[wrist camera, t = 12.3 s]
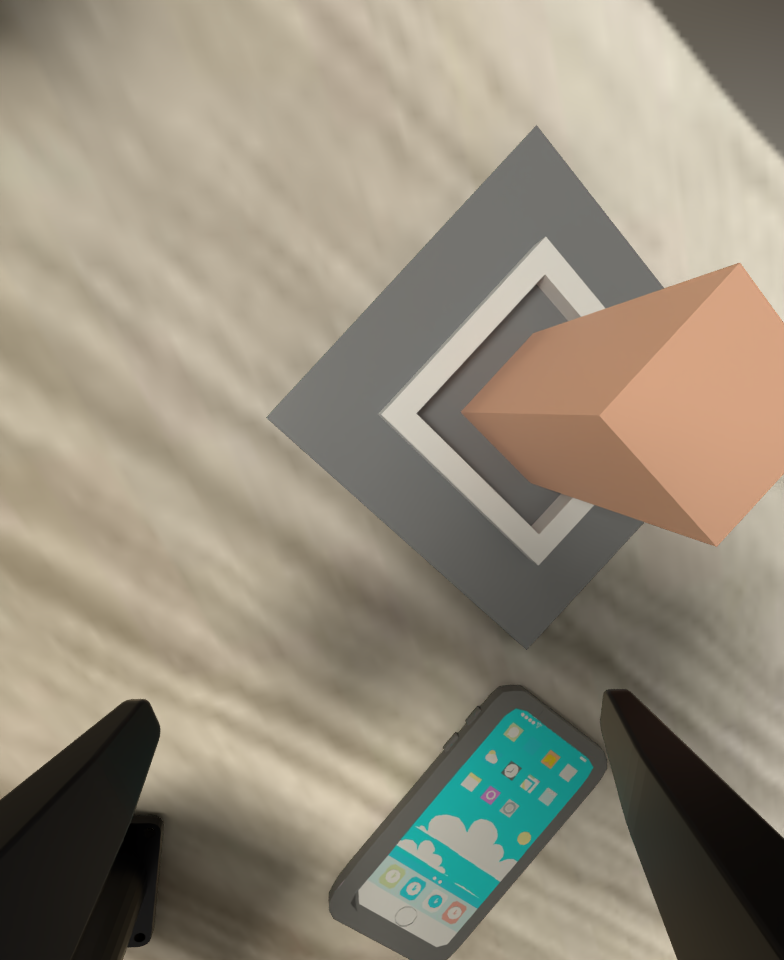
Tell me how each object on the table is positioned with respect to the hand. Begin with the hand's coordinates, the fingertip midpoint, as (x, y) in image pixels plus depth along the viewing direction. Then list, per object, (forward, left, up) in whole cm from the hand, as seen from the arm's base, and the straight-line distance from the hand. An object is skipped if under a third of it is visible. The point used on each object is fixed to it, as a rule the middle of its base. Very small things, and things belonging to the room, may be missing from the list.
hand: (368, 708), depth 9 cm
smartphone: (-15, -9, -13) cm, 22 cm away
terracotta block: (+7, -8, -11) cm, 15 cm away
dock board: (+7, -8, -12) cm, 16 cm away
